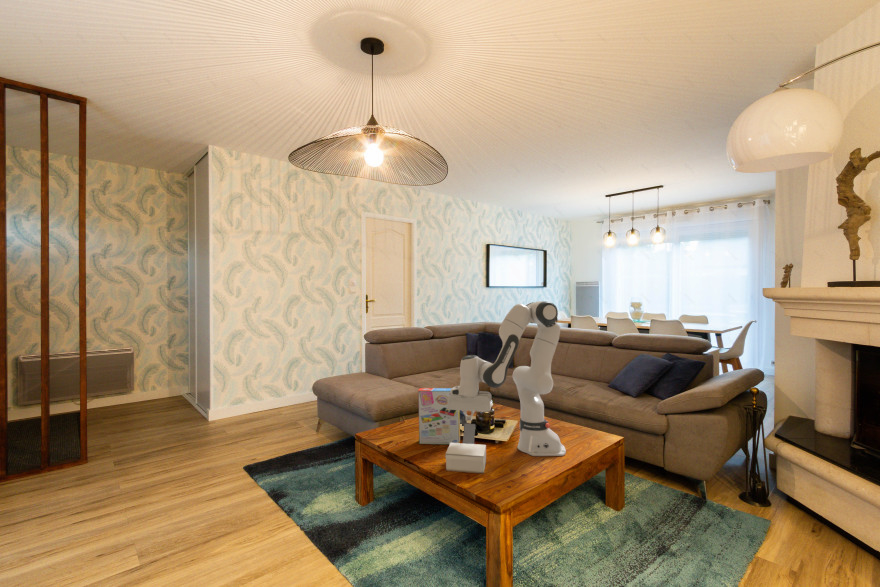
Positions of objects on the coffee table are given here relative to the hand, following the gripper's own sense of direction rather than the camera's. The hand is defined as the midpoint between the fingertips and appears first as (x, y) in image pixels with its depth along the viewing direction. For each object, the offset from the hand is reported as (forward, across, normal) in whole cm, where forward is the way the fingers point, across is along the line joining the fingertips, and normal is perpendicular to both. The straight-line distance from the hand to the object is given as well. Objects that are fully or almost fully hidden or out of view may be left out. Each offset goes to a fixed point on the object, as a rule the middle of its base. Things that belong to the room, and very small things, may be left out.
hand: (468, 419), depth 190 cm
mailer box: (+17, -1, +12) cm, 20 cm away
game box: (+17, +16, -14) cm, 27 cm away
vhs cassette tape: (+17, +10, -38) cm, 43 cm away
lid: (+11, 0, +8) cm, 14 cm away
